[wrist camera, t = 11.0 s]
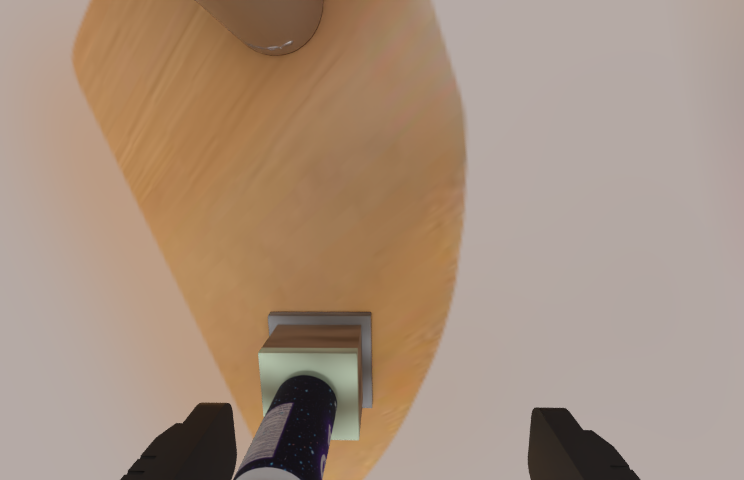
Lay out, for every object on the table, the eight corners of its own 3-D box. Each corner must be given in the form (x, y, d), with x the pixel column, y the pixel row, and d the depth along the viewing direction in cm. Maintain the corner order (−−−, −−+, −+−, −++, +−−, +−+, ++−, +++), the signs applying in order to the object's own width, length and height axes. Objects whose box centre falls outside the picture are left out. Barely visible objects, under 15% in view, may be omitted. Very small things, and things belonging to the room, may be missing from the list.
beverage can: (285, 427, 34) (231, 564, 22) (272, 373, 33) (208, 487, 21) (343, 419, 34) (320, 555, 22) (332, 365, 32) (300, 476, 21)
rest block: (270, 312, 39) (246, 342, 32) (370, 312, 39) (367, 343, 32) (277, 401, 41) (256, 447, 35) (372, 402, 41) (369, 449, 34)
